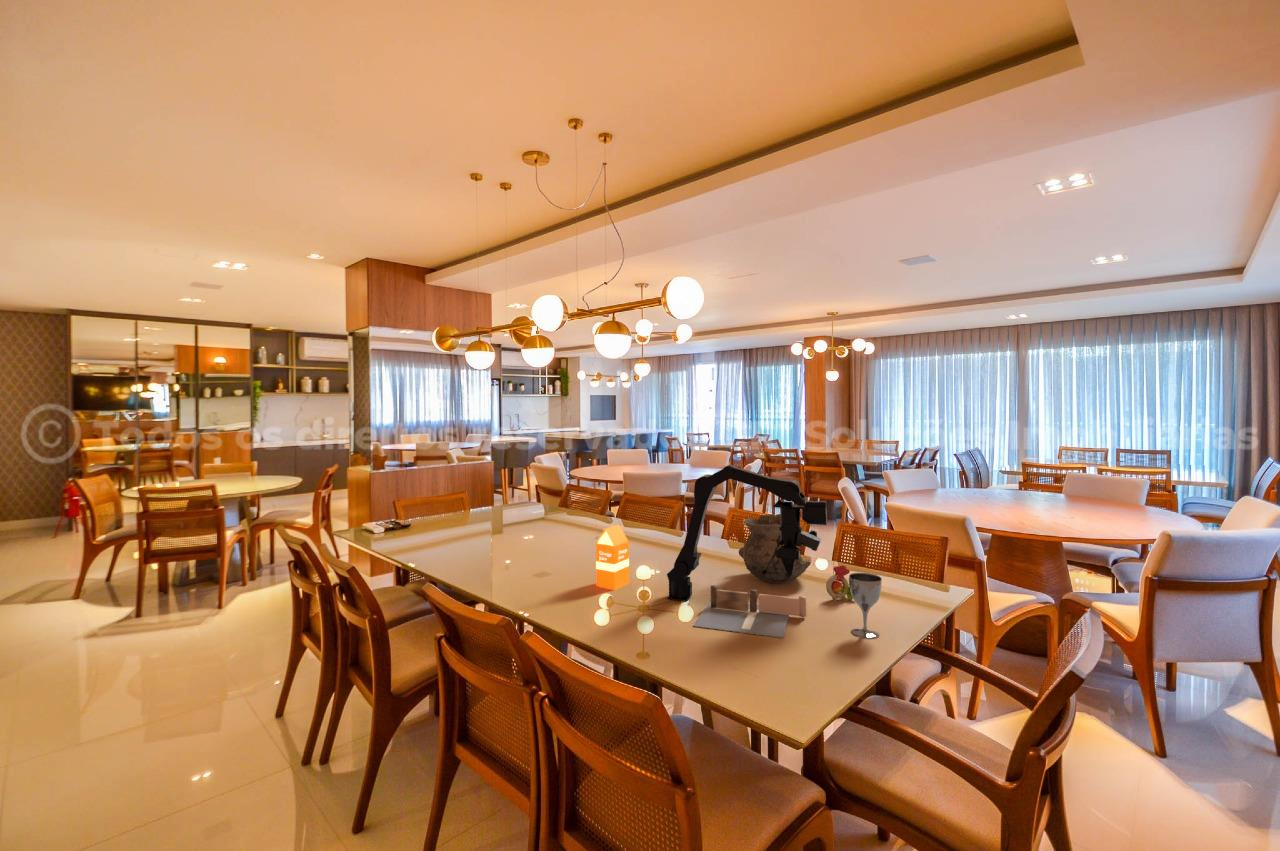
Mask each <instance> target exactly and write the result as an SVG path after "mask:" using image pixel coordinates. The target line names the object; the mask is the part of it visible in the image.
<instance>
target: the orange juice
mask: <svg viewBox="0 0 1280 851" xmlns="http://www.w3.org/2000/svg"><path fill="white" fill-rule="evenodd" d="M595 570H596V572H595V576H596V578H595V579H596V580H595V581H596V584H595V586H596V587H597V586H599V587H598V588H602V587H603V588H602V589H608V590H613V591H616V590H618V589H621V588H622V587H624V586H626V585H628V584H630V541H629V540H628V538H627V536H626V534H625V532H624V530H623V528H622V526H621V524H620V523H619V524H616V525H615V524H614V525H611V526H609V527H605V528H604V530H603V532H602V533H601V534H600V536H599V538H598V539H597V541H596V543H595Z"/></svg>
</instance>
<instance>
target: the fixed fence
mask: <svg viewBox="0 0 1280 851" xmlns="http://www.w3.org/2000/svg"><path fill="white" fill-rule="evenodd" d="M710 600H711V608H723V609H732V610H740V611H748V604H750V612H757V605H758V590H757V589H754V588H753V589H749V592H746V591H739V590H738V591H736V590H728V589H727V590H726V589H718V586H717V585H711V586H710Z"/></svg>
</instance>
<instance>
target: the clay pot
mask: <svg viewBox="0 0 1280 851" xmlns="http://www.w3.org/2000/svg"><path fill="white" fill-rule="evenodd" d="M743 523H744V524H745V526H746V527H747V529H748V530H749V533H750V534H749V535H748V536H747V539H746V541H745V542H744V544H743V546H742V547H741V548H739V550H738V554H739V557H741V558H742V559H743V562H744V564H745V568H746V569H747V571H748V572H749V573H750V574H751V575H753V576H754V577H756V579H759V580H761V581H764V582H767V583H772V584H773V583H774V584H777V583H778V584H779V583H780V584H781V583H787V582H790V581H793V580H795V579H797V578H799V577H801V576H802V575H803V574H804V573H805V572H806V571H807V569H808V568H809V567H810V566H811V563H812V562H811V561H810V559H809V558H808V559H805V560H803V557H802V556H801V553H800V557H799V559H797V560H795V563H794V568H793V573H792V576H788V574H787V572H786V569H785V567H784V565H783V562H782V560H781V558H776V550H777V548H778V547H779V546H780V545H779V541H780V531H779V527H780V513H779V514H775V513H771V514H760V515H759V518H758V519H756V518H753V517H750V518H749V517H748V518H746V519H744V521H743Z"/></svg>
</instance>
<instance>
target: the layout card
mask: <svg viewBox="0 0 1280 851" xmlns="http://www.w3.org/2000/svg"><path fill="white" fill-rule="evenodd" d="M789 617H790V615H786V614H777V613H768V612H760V611H759V604H757V612H750V603H748V611H740V610H732V609H723V608H711V599H710V600H709V602H707V604H706V606H705V607H704V609H703V610H702V612H701V613H700V614H699V616H698V618H697V619H696V621H695V622H694V623H693V625H692V627H693V626H695V627H694V628H699V627H701V629H707V628H709V629H708V630H715V629H718V630H717V631H723V630H724V631H725V632H730V631H732V632H731V633H738V632H739V634H746V633H747V634H746V635H748V634H749V635H754V634H756V636H762V635H763V636H764V637H770V638H777V637H778V638H779V639H784V638H785V637H784V636H785V632H786V629H787V625H788V621H789ZM763 636H762V637H763Z"/></svg>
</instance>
